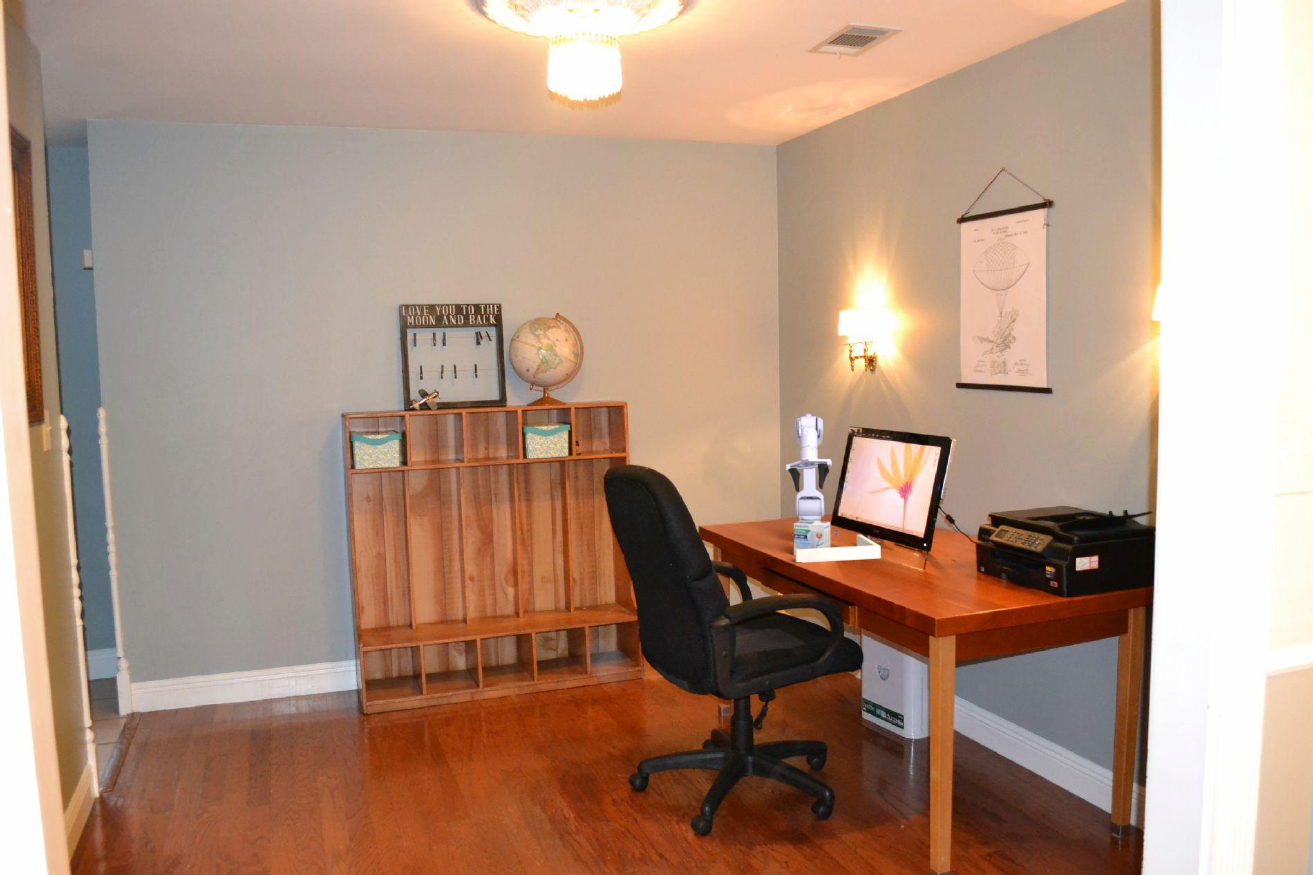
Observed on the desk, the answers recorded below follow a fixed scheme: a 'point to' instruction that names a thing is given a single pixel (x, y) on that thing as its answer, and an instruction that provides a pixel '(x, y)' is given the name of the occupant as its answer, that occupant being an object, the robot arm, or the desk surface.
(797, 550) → the corner walls
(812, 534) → the light bulb box
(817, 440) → the robot arm
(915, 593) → the desk surface
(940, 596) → the desk surface
